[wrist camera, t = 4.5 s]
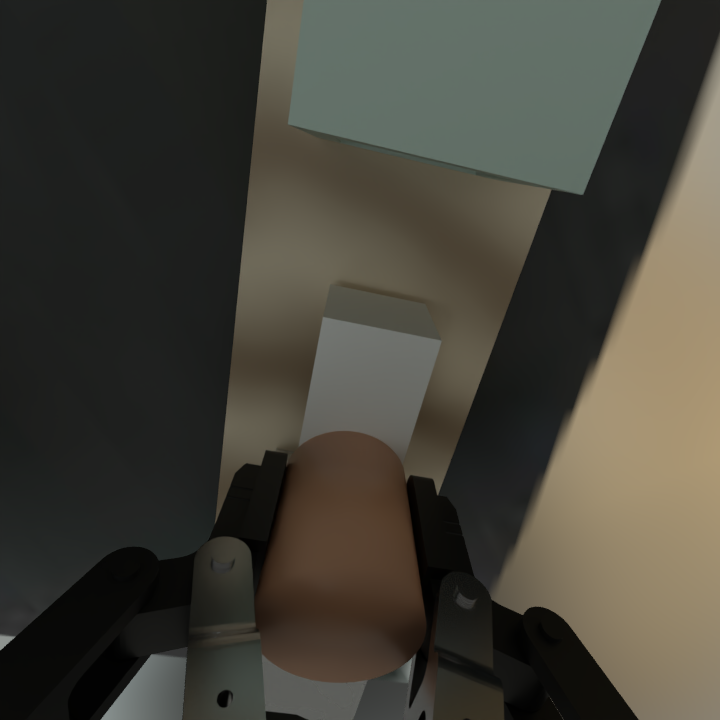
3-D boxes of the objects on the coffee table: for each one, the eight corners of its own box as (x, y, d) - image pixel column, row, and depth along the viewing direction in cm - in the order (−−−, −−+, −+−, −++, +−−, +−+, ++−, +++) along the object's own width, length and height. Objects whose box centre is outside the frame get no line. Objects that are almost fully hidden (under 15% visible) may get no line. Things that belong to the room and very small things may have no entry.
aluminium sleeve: (350, 612, 24) (348, 730, 19) (251, 599, 23) (223, 716, 18) (395, 468, 20) (407, 572, 15) (276, 448, 19) (247, 548, 14)
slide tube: (341, 616, 22) (331, 852, 15) (263, 605, 22) (213, 842, 14) (433, 305, 15) (506, 451, 8) (321, 282, 15) (283, 410, 7)
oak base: (388, 607, 25) (389, 624, 24) (213, 582, 24) (207, 599, 23) (587, 57, 14) (603, 50, 13) (277, -27, 13) (271, -41, 12)
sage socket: (494, 179, 15) (582, 194, 9) (317, 137, 14) (287, 124, 8) (535, 49, 13) (675, -37, 7) (338, -4, 13) (321, -142, 7)
